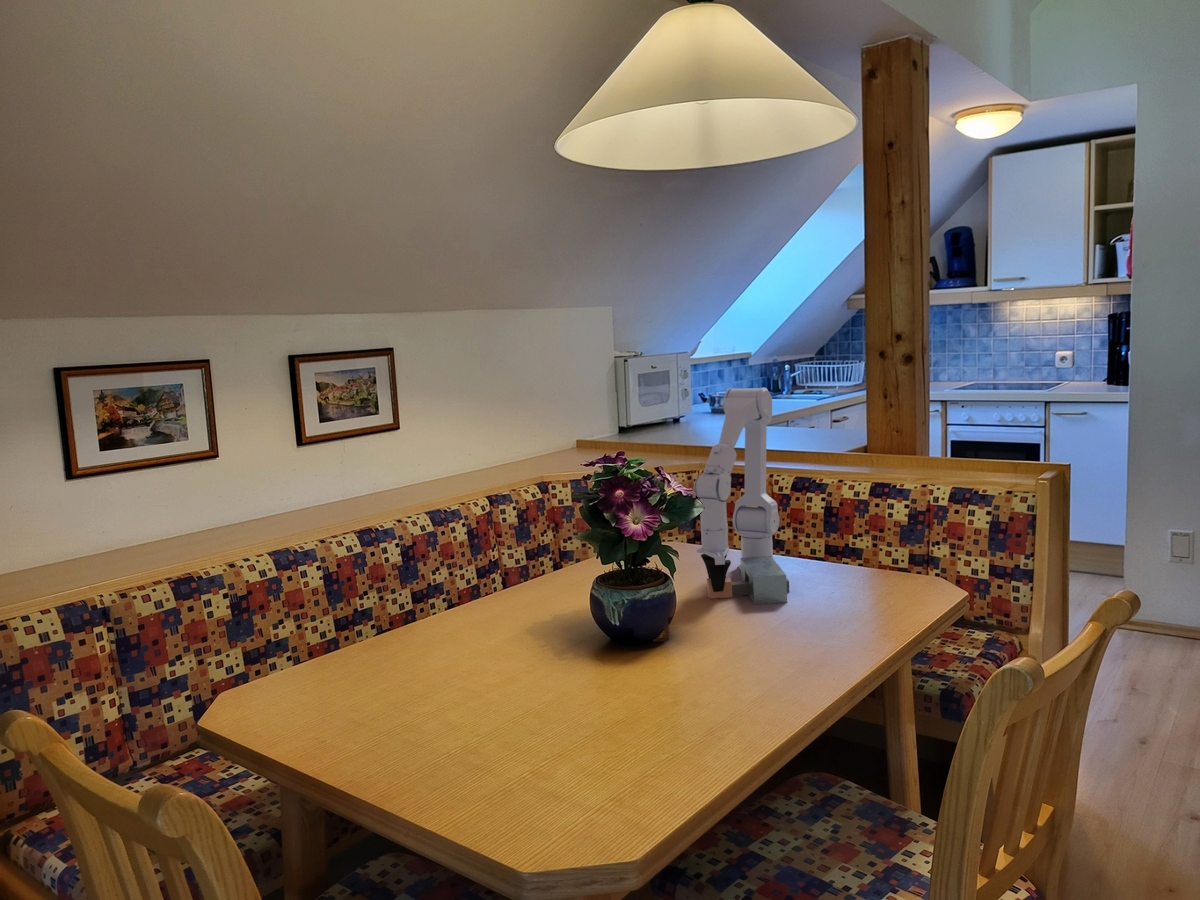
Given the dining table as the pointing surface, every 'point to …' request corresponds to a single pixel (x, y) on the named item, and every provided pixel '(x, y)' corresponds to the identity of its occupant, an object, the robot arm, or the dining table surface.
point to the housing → (764, 580)
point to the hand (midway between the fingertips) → (716, 588)
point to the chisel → (731, 589)
